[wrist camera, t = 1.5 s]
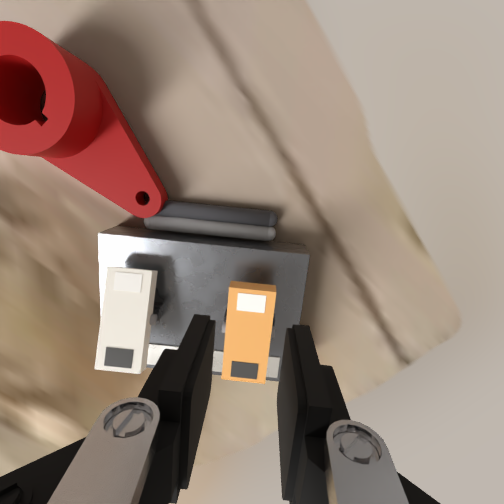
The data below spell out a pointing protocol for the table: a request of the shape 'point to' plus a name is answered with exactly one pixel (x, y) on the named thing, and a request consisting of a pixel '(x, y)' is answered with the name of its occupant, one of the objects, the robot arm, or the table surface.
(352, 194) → the table surface
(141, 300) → the block
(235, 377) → the breaker lever
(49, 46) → the lever
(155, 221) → the twin grey rods
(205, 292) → the breaker strip
